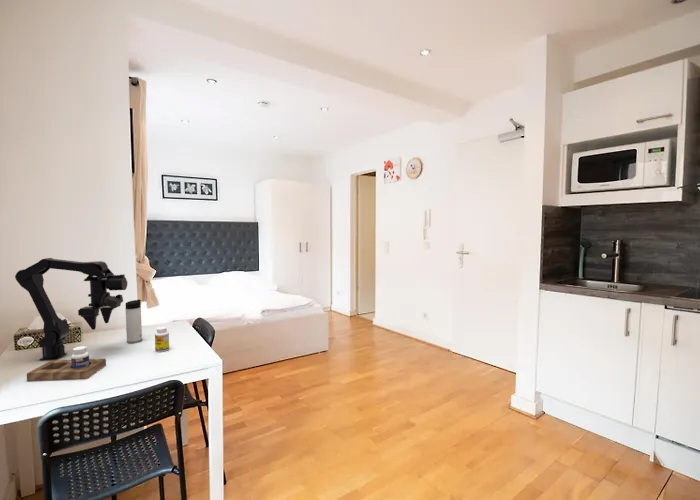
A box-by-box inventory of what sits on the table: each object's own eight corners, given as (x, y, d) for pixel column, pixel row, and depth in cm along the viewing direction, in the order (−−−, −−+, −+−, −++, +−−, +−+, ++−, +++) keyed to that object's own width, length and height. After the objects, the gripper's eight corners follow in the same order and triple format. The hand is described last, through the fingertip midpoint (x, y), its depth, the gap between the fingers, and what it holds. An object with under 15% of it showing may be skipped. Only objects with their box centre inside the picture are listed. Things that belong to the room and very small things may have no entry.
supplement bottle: (152, 351, 154) (151, 328, 154) (163, 347, 159) (162, 325, 159) (161, 353, 152) (160, 330, 151) (172, 348, 157) (171, 327, 157)
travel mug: (145, 340, 168) (143, 300, 166) (130, 344, 162) (129, 302, 161) (138, 338, 171) (137, 298, 170) (124, 342, 166) (122, 301, 164)
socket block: (27, 381, 124) (26, 373, 124) (52, 367, 136) (51, 360, 136) (86, 379, 126) (86, 371, 126) (106, 365, 138) (105, 358, 138)
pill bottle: (75, 377, 128) (74, 351, 127) (69, 373, 131) (68, 348, 130) (92, 371, 133) (91, 347, 132) (86, 368, 136) (85, 344, 135)
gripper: (105, 295, 140) (107, 332, 141) (129, 286, 158) (131, 319, 159) (76, 295, 138) (78, 333, 140) (104, 286, 157) (105, 320, 158)
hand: (100, 326), depth 149 cm, fingers open, 9 cm apart
